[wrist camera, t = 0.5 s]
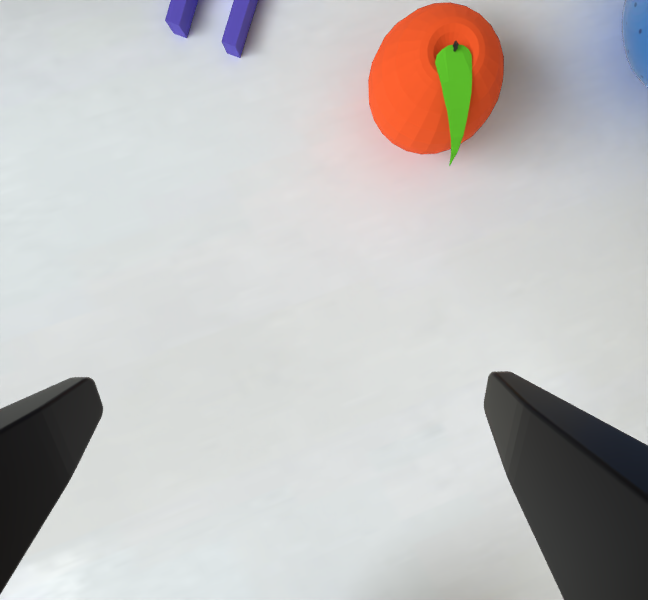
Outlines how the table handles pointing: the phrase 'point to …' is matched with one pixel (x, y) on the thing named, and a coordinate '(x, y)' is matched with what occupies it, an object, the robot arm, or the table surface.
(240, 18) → the puzzle piece
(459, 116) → the clementine
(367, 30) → the table surface
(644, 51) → the cell model
